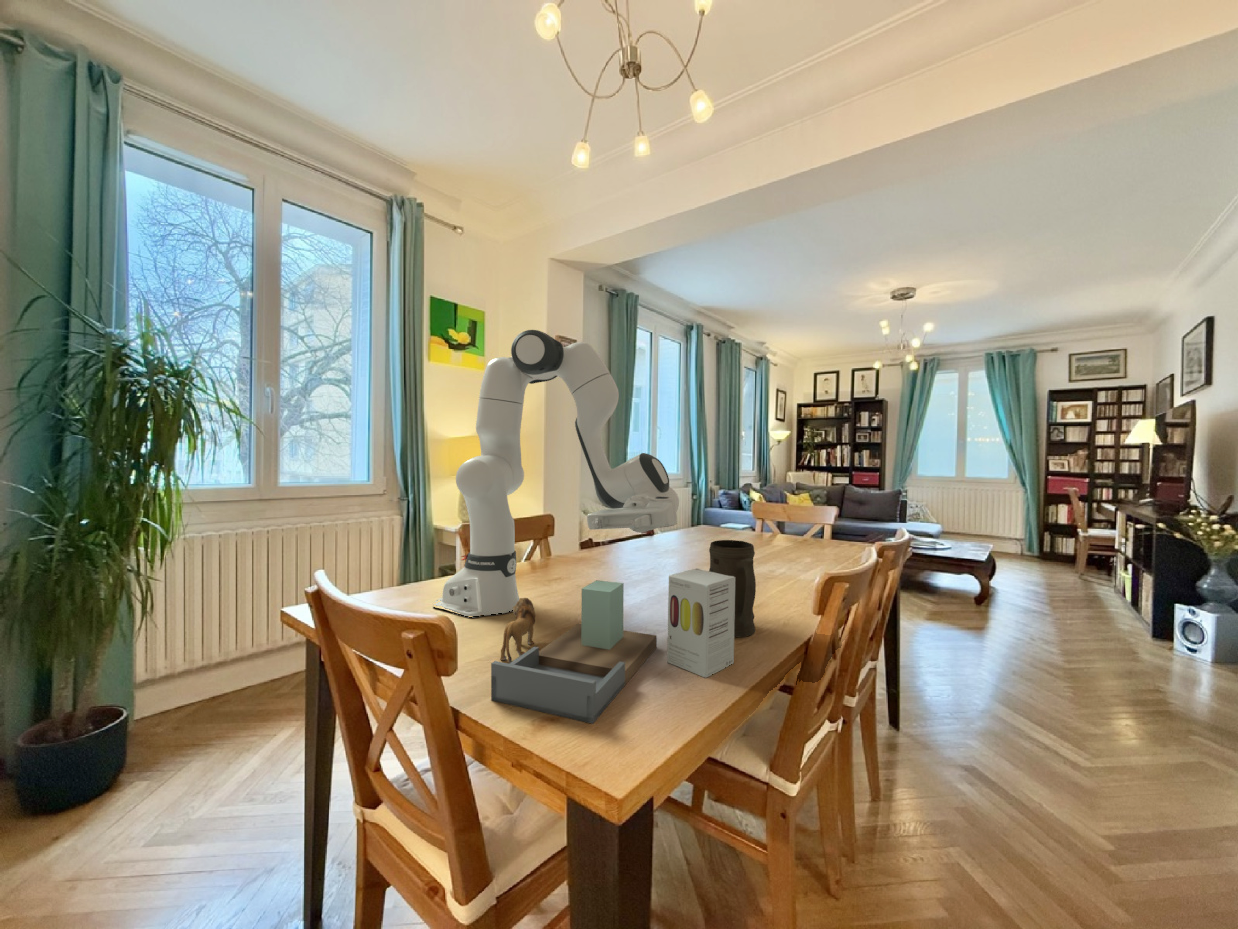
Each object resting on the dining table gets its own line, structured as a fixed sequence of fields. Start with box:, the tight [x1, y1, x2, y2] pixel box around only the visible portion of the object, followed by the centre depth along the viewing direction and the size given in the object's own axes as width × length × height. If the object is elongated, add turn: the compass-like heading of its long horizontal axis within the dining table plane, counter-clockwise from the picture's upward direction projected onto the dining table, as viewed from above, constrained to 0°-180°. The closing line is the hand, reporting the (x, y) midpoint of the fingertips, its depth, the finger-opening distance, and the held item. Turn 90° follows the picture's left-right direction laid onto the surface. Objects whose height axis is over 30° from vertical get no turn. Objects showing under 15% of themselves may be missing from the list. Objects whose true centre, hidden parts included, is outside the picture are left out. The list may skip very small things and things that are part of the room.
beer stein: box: [708, 539, 757, 638], centre depth 110 cm, size 15×11×20 cm
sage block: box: [580, 579, 625, 650], centre depth 99 cm, size 6×7×11 cm
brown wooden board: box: [539, 623, 658, 686], centre depth 97 cm, size 18×18×2 cm
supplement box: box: [666, 568, 735, 678], centre depth 94 cm, size 10×9×17 cm
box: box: [490, 646, 626, 724], centre depth 82 cm, size 18×13×6 cm
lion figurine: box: [500, 597, 536, 664], centre depth 100 cm, size 15×5×9 cm, turn 0°
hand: (613, 524), depth 105 cm, fingers open, 8 cm apart
